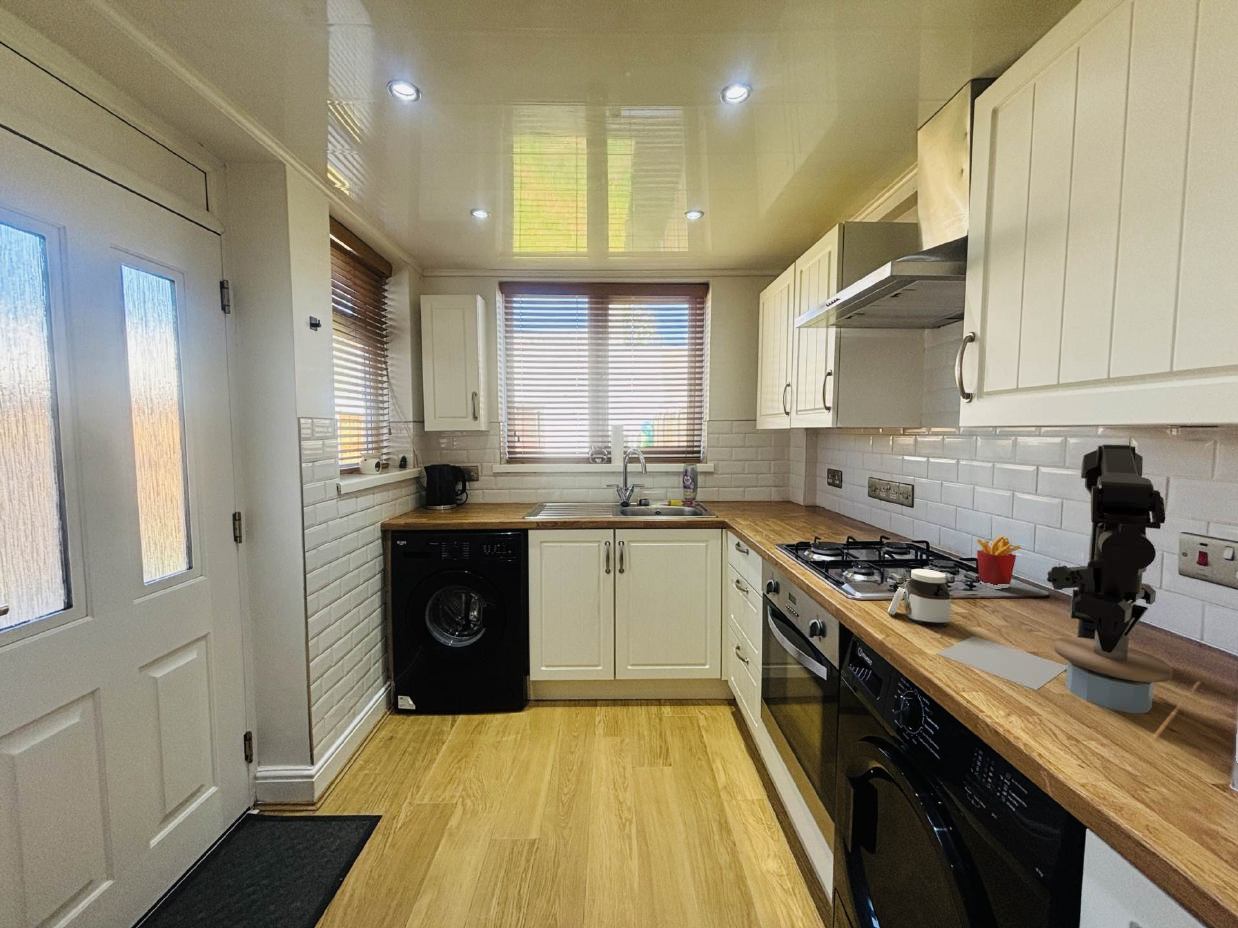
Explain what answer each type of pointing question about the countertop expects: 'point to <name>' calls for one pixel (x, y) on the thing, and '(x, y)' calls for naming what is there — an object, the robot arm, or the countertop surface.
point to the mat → (1004, 662)
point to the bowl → (1109, 690)
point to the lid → (1113, 659)
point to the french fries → (996, 561)
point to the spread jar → (924, 598)
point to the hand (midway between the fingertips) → (1110, 648)
